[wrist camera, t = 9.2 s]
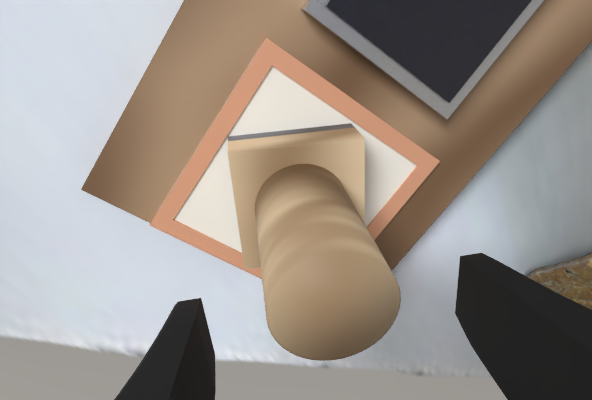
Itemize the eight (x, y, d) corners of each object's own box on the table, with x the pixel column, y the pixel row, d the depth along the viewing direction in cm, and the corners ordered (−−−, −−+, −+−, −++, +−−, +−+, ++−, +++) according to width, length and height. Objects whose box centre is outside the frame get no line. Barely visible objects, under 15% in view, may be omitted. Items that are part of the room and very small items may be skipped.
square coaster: (438, 159, 19) (440, 161, 19) (318, 303, 22) (319, 306, 22) (266, 37, 16) (266, 37, 16) (150, 223, 19) (149, 225, 18)
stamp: (351, 123, 18) (432, 215, 11) (352, 229, 20) (420, 363, 13) (227, 136, 17) (226, 241, 10) (243, 243, 20) (250, 391, 12)
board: (605, 1, 18) (624, 2, 17) (344, 305, 23) (349, 318, 22) (343, -288, 13) (351, -308, 12) (88, 179, 18) (81, 189, 18)
